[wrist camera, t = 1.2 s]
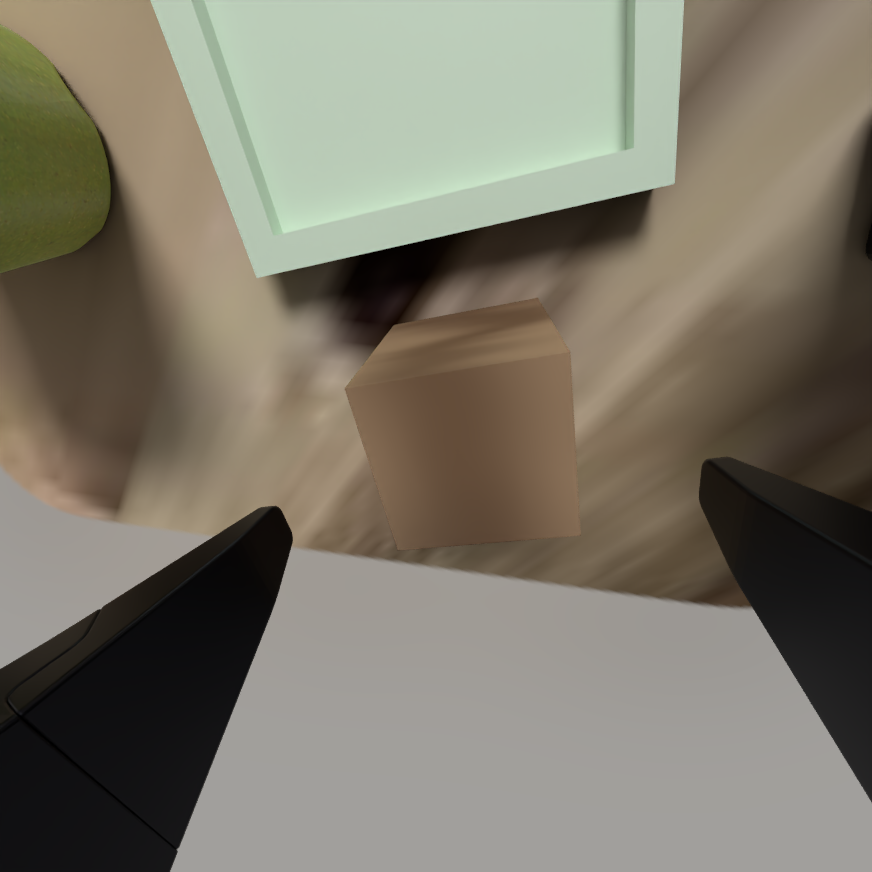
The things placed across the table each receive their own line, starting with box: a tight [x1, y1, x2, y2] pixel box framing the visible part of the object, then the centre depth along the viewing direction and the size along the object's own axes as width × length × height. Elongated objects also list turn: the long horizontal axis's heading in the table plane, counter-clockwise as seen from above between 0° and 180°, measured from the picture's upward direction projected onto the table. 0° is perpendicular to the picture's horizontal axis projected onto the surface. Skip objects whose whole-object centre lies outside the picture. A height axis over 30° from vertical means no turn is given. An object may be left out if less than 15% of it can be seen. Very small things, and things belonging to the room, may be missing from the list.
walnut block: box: [345, 298, 581, 551], centre depth 13 cm, size 5×5×6 cm
